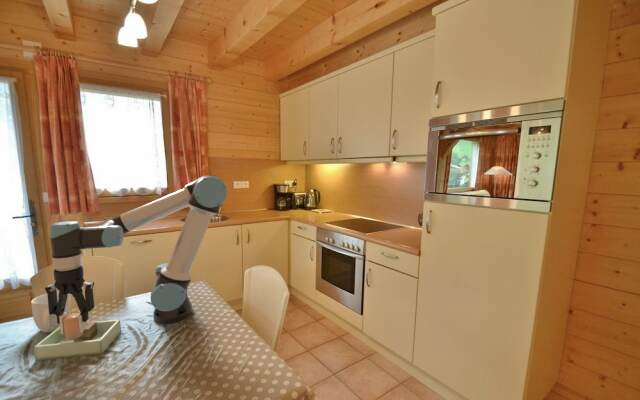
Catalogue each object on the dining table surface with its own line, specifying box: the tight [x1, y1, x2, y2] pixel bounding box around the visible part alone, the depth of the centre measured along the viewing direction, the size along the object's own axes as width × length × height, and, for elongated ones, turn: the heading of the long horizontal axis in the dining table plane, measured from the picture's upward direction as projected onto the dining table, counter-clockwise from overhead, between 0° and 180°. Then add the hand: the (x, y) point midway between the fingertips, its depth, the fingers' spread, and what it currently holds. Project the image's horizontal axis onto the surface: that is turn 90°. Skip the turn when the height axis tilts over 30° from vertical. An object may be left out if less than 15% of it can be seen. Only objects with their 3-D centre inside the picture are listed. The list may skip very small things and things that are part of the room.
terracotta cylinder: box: [63, 312, 84, 340], centre depth 98 cm, size 5×5×7 cm
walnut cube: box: [73, 321, 97, 342], centre depth 105 cm, size 5×5×5 cm
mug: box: [30, 290, 71, 333], centre depth 110 cm, size 15×11×13 cm
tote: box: [33, 319, 122, 362], centre depth 102 cm, size 20×14×5 cm
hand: (74, 330), depth 99 cm, fingers closed on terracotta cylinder, 5 cm apart
